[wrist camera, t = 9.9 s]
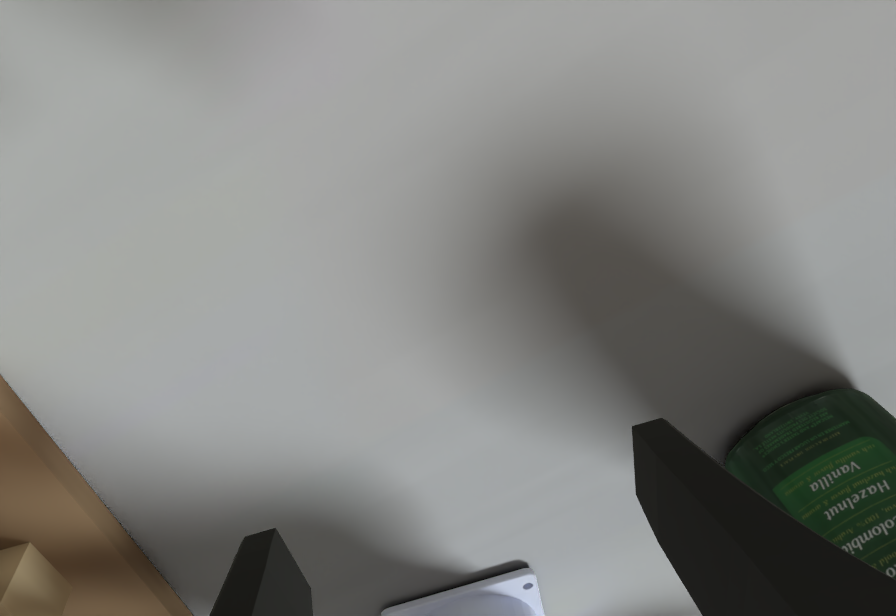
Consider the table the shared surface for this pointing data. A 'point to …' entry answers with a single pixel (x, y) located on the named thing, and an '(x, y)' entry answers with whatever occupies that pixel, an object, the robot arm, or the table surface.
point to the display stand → (64, 535)
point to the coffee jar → (829, 470)
